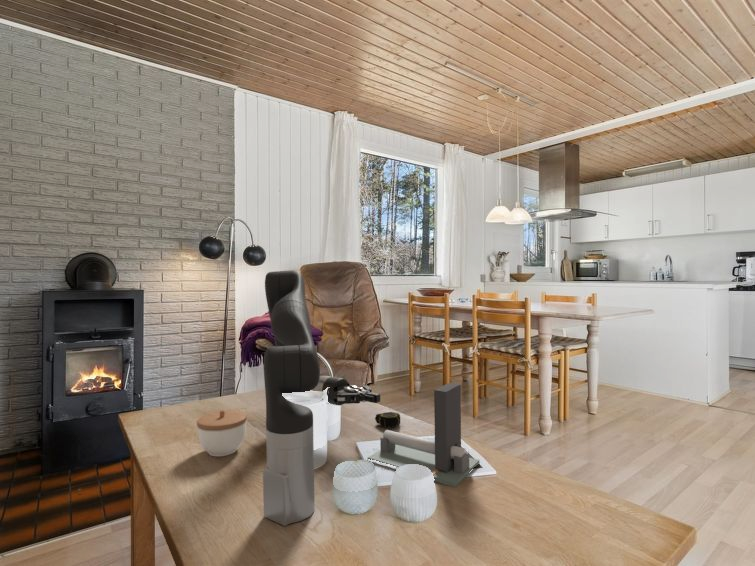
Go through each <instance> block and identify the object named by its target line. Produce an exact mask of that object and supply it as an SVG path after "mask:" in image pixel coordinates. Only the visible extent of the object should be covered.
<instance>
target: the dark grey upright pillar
mask: <svg viewBox="0 0 755 566" xmlns="http://www.w3.org/2000/svg"><path fill="white" fill-rule="evenodd" d="M461 386H462V385H461V383H453V382H448V383H446V384H444V385H441V386H440V387H438V388H435V389H433V391H434V392H433V393H434V394H433V397H434V400H433V401H434V402H433V403H434V407H433V408H434V412H433V413H434V414H433V415H434V441H435V469H438V470H442V471H445V472H447V471H448V470H450V469H451V468H452V467H453V466H454V459H451V447H452V446H457V447H461V448H462V407H461V405H462V402H461V401H462V400H461V398H462V397H461V396H462V395H461V394H462V393H461V388H462V387H461Z"/></svg>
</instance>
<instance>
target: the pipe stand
mask: <svg viewBox="0 0 755 566" xmlns="http://www.w3.org/2000/svg"><path fill="white" fill-rule="evenodd" d="M379 441H380V444H379V445H380V449H379V450H378V451H376V452H374V453H373V454H371V455H369V456H367V460H368V459H370V460H371V459H372V460H376V461H379V462H382V463H386V464H390V465H393V466H397V467H399V466H402V465H404V464H419V465H423V466H426V467H428V468H429V469H430V470H431V472H432V473H433V476H434V479H435V481H434V482H436V483H439V484H443V485H444V486H445V485H446V486H450V487H452V488H456V487H457V486H458V485H459V484H460V483H461V482H462V481H464V479H466V478H467V476H469V475H470V474H469V472H470V471H471V470H472V469H473V468H474V467H475V466H477V465H478V463H479V464H480V459H476V458H472V457H470V452H469V451H467V449H466V448H465V447H462V446H461V447H457V446H452V447H451V459H454V466H453V467H452V468H451V469H450V470H448V471H447V472H445V471H442V470H438V469H435V440H431V439H426V438H421V437H419V436H415V435H410V434H406V433H401V432H397V431H393V430H389V429H385V431H384V432H383V435H382V436H381V437H380V440H379ZM478 466H479V465H478ZM478 466H477V467H478ZM468 474H469V475H468Z"/></svg>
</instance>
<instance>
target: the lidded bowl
mask: <svg viewBox="0 0 755 566" xmlns="http://www.w3.org/2000/svg"><path fill="white" fill-rule="evenodd" d="M247 419H248V418H247V413H245V412H243V411H240V410H225V409H220V410H219V411H215V412H210V413H208V414H207V413H206V414H205V415H202V416H200V417H198V419H197V421H196V427H197V435H198V436H197V437H198V441H199V444H200V445H201V447H202V449H203V450H204V451H206V452H207V453H208V455H209V456H211V457H217V458H218V457H226V456H230V455H232V454H234V453H236V452H237V450H238V448H239V447H240V446H241V445H242V444H243V442H244V440H245V437H246V433H247V432H246V431H247Z"/></svg>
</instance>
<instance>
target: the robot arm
mask: <svg viewBox="0 0 755 566" xmlns="http://www.w3.org/2000/svg"><path fill="white" fill-rule="evenodd" d="M264 291H265V299H266V303H267V308H268V314H269V319H270V329H271V332H272V335H273V338H274V346H270V347H268V348H266V350H265V353H264V356H263V379H264V391H265V412H266V413H265V415H266V416H265V418H266V419H265V428H266V431H265V433H266V439H265V440H266V467H264V468H263V469H262V487H263V488H262V492H263V494H262V495H263V499H262V500H263V517H264V518H266V519H269V520H271V521H272V522H275V523H278V524H279V525H281V526H283V527H284V526H285V527H286V526H288V525H291V524H293V523H299V522H302V521H304V520H306V519H308V518H309V517H310V516H312V515H313V514H314V512H315V501H316V500H315V462H314V461H315V457H314V456H315V454H314V452H315V451H314V448H315V447H314V446H315V445H314V414H313V411H312V409H311V408H309V407H308V406H306V405H302V404H298V403H294V402H292V401H290V400H289V399H285V398H284V397H283V396H282V393H292V392H305V391H310V390H313V391H323V390H325V389H326V388H327V387H330V388H329V394H328V402H329V403H330V405H334V406H342V405H346V404H347V405H348V404H349V405H351V404H360V403H366V402H367V403H373V404H378V403H380V402H381V394H380V393H377V392H372V391H373V390H372V388H371V387H370V386H369V385H367V384H363V385H362V387H360V386H357V385H356V384H355V385H354V384H350V383H349V382H348V380H347V379H345V378H343V377H336V376H329V375H321V366H320V360H319V359H320V358H319V354H318V352H317V348H316V346H315V342H314V339H313V335H312V327H311V325H312V324H311V319H310V314H309V313H310V312H309V309H308V305H307V301H306V300H307V299H306V285H305V279H304V276H303V275H302V273H301V272H300V271H298V270H294V269H292V270H280V271H279V270H277V271H269V272H267V273H266V275H265V277H264ZM329 403H328V404H329Z"/></svg>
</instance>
